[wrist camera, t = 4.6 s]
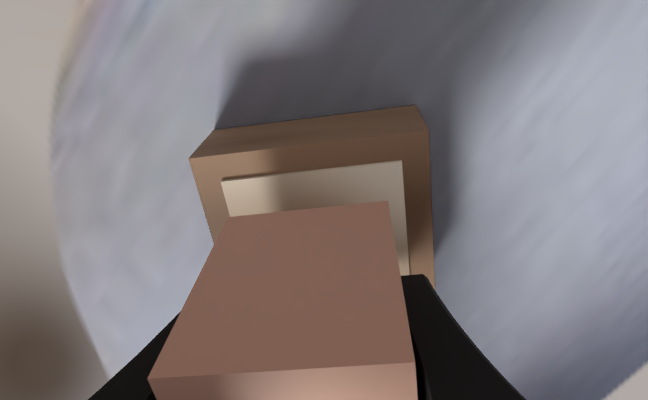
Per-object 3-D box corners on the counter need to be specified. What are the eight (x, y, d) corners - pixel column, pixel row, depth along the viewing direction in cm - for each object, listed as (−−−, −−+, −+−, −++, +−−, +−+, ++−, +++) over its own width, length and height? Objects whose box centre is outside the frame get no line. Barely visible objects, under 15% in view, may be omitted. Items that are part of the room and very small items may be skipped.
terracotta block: (398, 326, 12) (426, 521, 8) (260, 335, 13) (213, 526, 8) (387, 200, 11) (415, 362, 6) (228, 216, 11) (147, 378, 7)
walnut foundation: (424, 275, 16) (436, 324, 14) (255, 289, 17) (240, 338, 15) (416, 104, 14) (429, 131, 11) (213, 130, 14) (187, 159, 12)
